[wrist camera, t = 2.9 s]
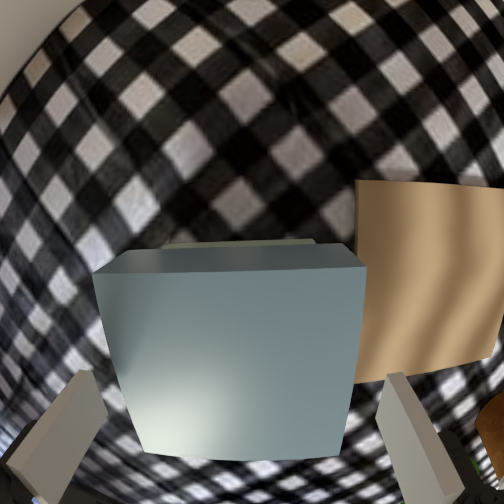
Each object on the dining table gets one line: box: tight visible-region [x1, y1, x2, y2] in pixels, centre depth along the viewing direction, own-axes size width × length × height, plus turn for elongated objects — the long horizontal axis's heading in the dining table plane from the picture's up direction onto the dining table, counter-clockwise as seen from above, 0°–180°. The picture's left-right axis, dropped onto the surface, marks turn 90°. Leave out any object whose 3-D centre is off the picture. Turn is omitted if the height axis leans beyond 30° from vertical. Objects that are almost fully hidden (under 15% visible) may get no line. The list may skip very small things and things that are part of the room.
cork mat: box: [353, 180, 504, 384], centre depth 21 cm, size 16×16×1 cm
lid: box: [92, 243, 367, 461], centre depth 16 cm, size 12×12×4 cm
